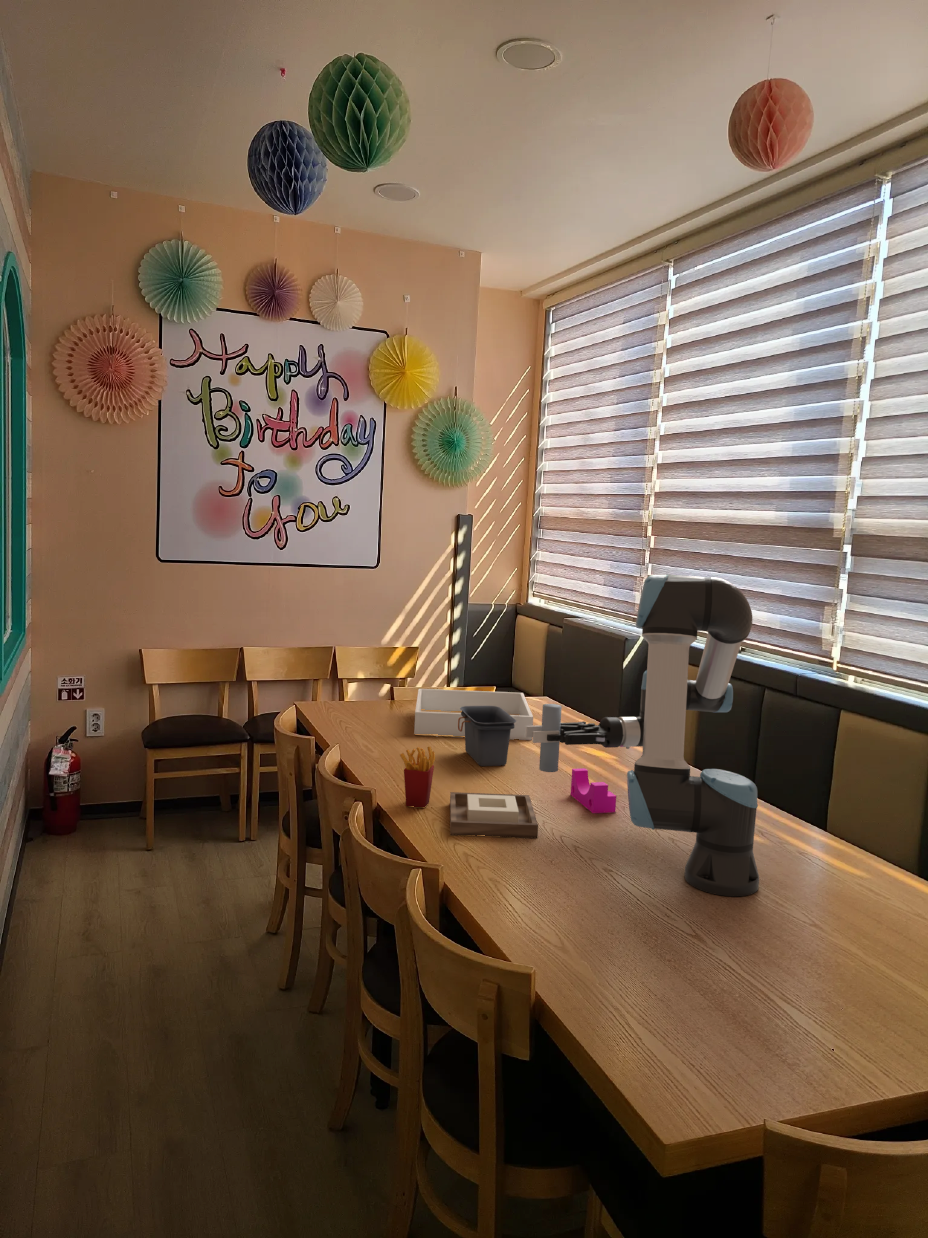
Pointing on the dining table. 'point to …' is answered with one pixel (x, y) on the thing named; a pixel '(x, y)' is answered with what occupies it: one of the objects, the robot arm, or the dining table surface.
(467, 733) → the storage bin
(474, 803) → the bore block
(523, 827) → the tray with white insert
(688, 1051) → the dining table surface
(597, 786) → the toy block
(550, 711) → the peg
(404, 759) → the french fries
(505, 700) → the white shallow tray
